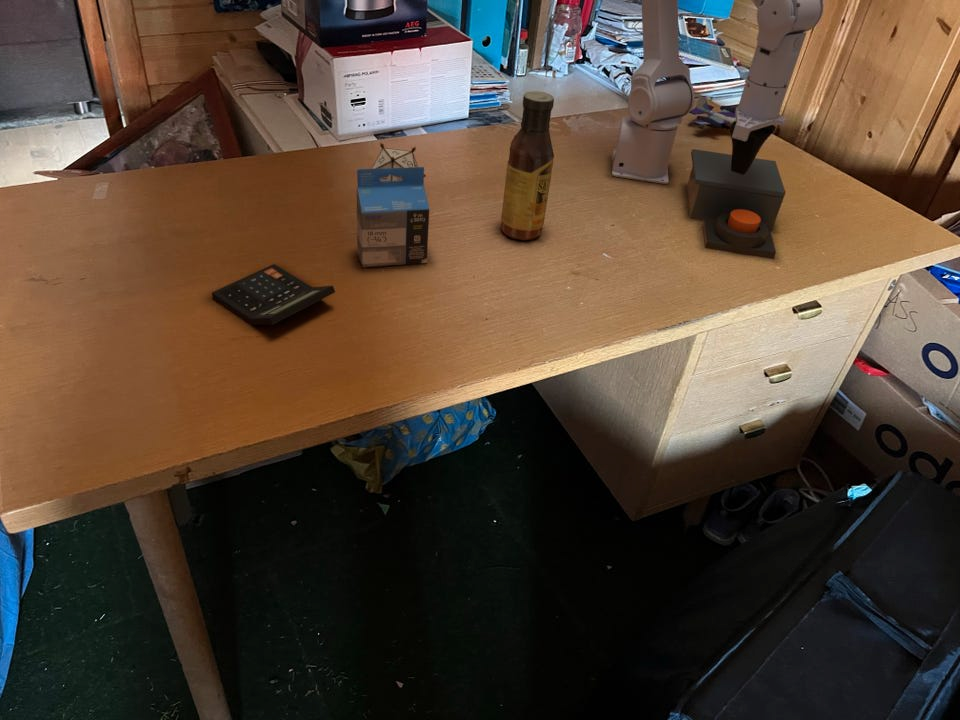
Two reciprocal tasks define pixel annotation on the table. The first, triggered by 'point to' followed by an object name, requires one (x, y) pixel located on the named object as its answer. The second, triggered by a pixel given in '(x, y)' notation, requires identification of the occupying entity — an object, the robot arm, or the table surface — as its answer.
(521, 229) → the sauce bottle
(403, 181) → the tape cartridge
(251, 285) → the calculator
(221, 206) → the table surface
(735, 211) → the button
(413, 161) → the game die
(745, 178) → the lid
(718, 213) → the cooker
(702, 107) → the toy airplane
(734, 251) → the switch block
